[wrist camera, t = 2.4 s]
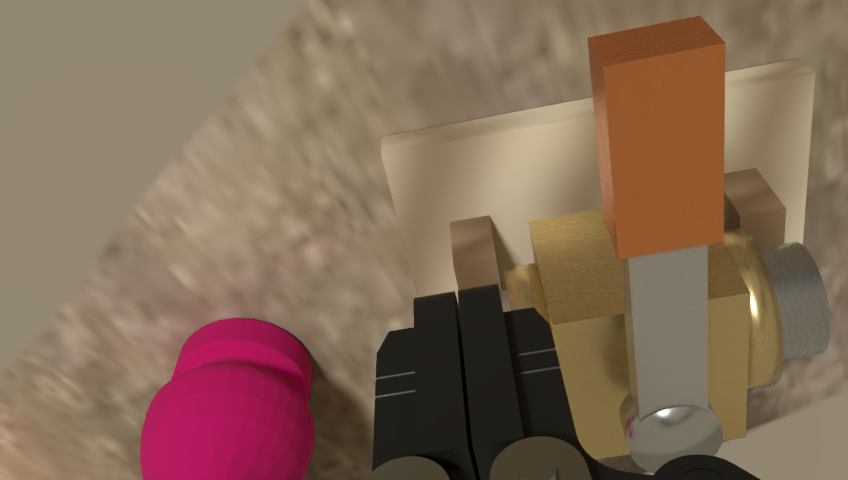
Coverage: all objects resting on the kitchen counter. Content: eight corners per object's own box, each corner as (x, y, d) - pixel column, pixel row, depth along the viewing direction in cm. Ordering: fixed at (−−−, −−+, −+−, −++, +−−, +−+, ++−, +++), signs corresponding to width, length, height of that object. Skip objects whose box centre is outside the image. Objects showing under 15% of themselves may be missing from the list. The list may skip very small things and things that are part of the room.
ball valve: (776, 177, 29) (864, 290, 23) (769, 313, 33) (844, 439, 27) (448, 235, 30) (458, 355, 25) (476, 360, 34) (489, 491, 28)
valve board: (798, 58, 30) (853, 108, 27) (783, 305, 37) (825, 373, 33) (382, 137, 32) (378, 195, 28) (438, 360, 38) (442, 431, 35)
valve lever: (704, 14, 19) (729, 42, 17) (706, 427, 26) (724, 471, 25) (583, 38, 19) (598, 67, 17) (620, 440, 27) (632, 485, 25)
